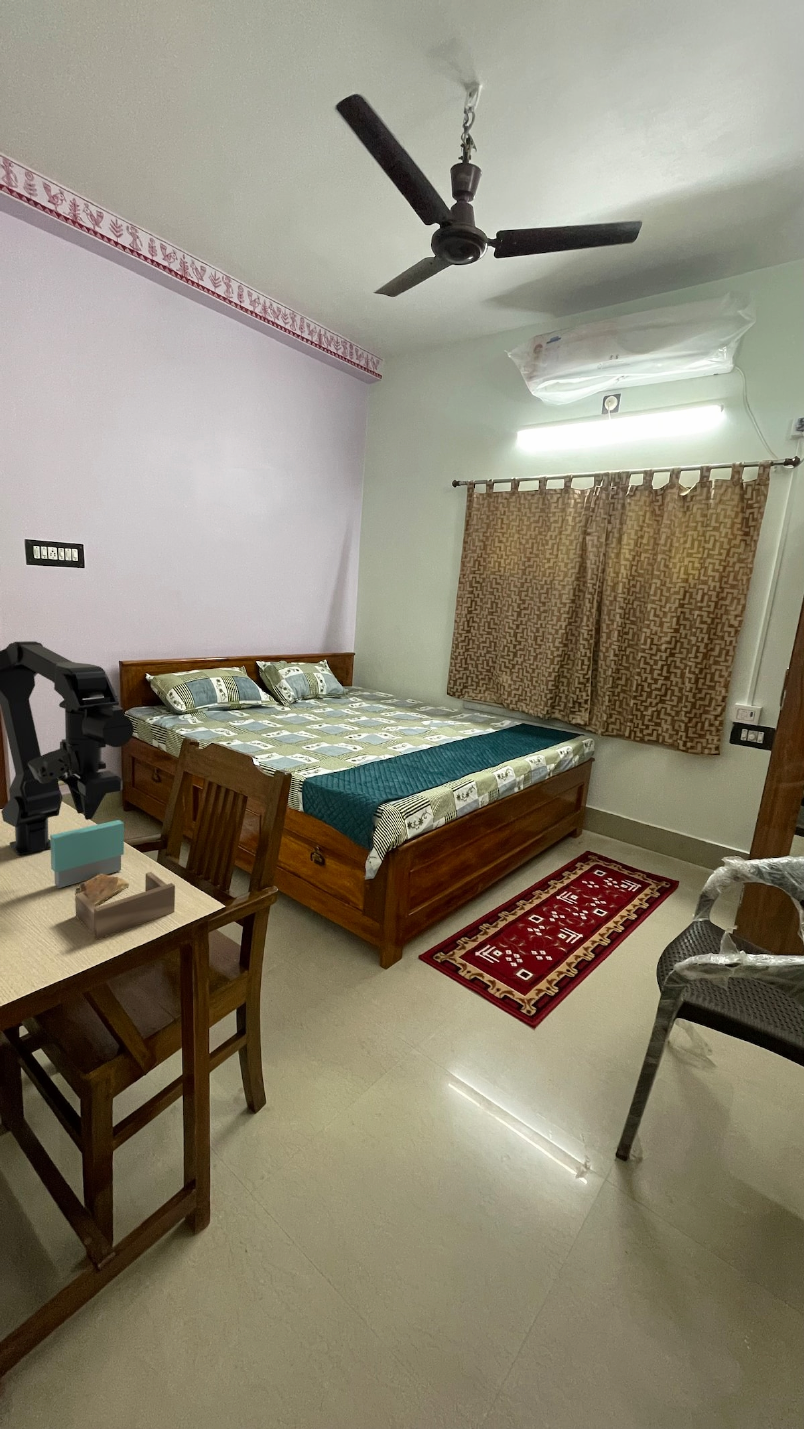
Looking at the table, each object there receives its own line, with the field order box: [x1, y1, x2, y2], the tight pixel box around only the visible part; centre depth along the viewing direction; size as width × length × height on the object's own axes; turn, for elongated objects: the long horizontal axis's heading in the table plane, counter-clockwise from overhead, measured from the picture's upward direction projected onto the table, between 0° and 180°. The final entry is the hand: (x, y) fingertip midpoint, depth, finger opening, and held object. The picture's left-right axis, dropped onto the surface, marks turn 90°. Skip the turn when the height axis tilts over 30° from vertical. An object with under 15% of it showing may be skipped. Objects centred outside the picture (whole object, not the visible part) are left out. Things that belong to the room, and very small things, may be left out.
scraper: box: [49, 819, 125, 889], centre depth 106 cm, size 2×12×10 cm, turn 139°
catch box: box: [74, 871, 176, 941], centre depth 97 cm, size 9×13×5 cm
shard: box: [78, 874, 130, 907], centre depth 102 cm, size 11×8×2 cm
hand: (84, 816), depth 106 cm, fingers open, 3 cm apart
